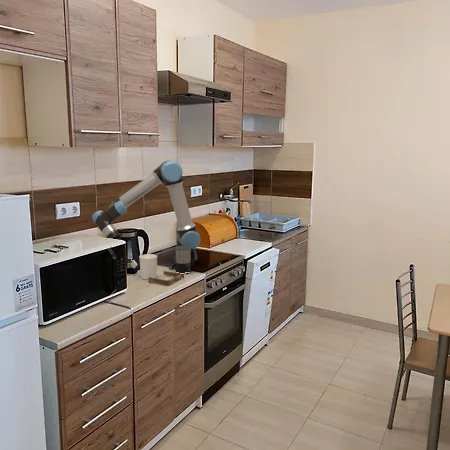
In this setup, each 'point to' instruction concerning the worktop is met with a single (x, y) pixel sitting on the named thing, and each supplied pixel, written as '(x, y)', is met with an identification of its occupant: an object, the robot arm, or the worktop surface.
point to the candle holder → (148, 266)
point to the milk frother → (183, 259)
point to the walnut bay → (167, 282)
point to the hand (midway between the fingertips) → (135, 266)
